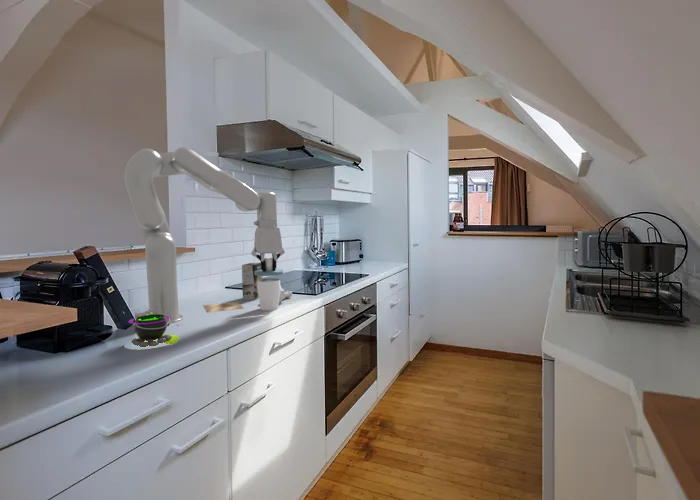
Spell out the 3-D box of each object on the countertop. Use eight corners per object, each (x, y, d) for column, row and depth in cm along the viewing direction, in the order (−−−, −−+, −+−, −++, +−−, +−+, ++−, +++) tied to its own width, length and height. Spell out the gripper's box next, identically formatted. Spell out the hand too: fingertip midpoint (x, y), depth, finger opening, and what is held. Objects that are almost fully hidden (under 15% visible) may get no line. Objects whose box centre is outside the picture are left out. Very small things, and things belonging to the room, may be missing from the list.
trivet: (207, 313, 155) (207, 312, 155) (203, 306, 167) (203, 305, 167) (244, 309, 161) (244, 308, 161) (237, 303, 174) (237, 301, 173)
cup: (276, 312, 155) (275, 282, 154) (254, 312, 157) (253, 281, 156) (284, 307, 164) (283, 278, 163) (263, 307, 166) (262, 278, 165)
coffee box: (256, 301, 177) (255, 264, 176) (242, 301, 178) (241, 264, 177) (263, 297, 186) (262, 262, 185) (250, 297, 187) (249, 262, 186)
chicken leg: (299, 300, 183) (293, 283, 185) (281, 300, 166) (275, 281, 168) (283, 306, 185) (278, 289, 187) (264, 307, 168) (258, 288, 170)
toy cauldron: (147, 353, 110) (145, 313, 109) (110, 347, 116) (108, 309, 115) (190, 338, 124) (188, 302, 123) (155, 333, 130) (153, 299, 129)
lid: (258, 276, 152) (257, 260, 152) (251, 273, 162) (251, 257, 161) (286, 274, 157) (286, 258, 156) (278, 271, 167) (277, 256, 166)
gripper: (248, 224, 151) (249, 273, 152) (290, 223, 158) (291, 270, 159) (244, 224, 157) (245, 271, 159) (284, 223, 165) (286, 268, 166)
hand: (268, 270), depth 159 cm, fingers closed on lid, 3 cm apart
